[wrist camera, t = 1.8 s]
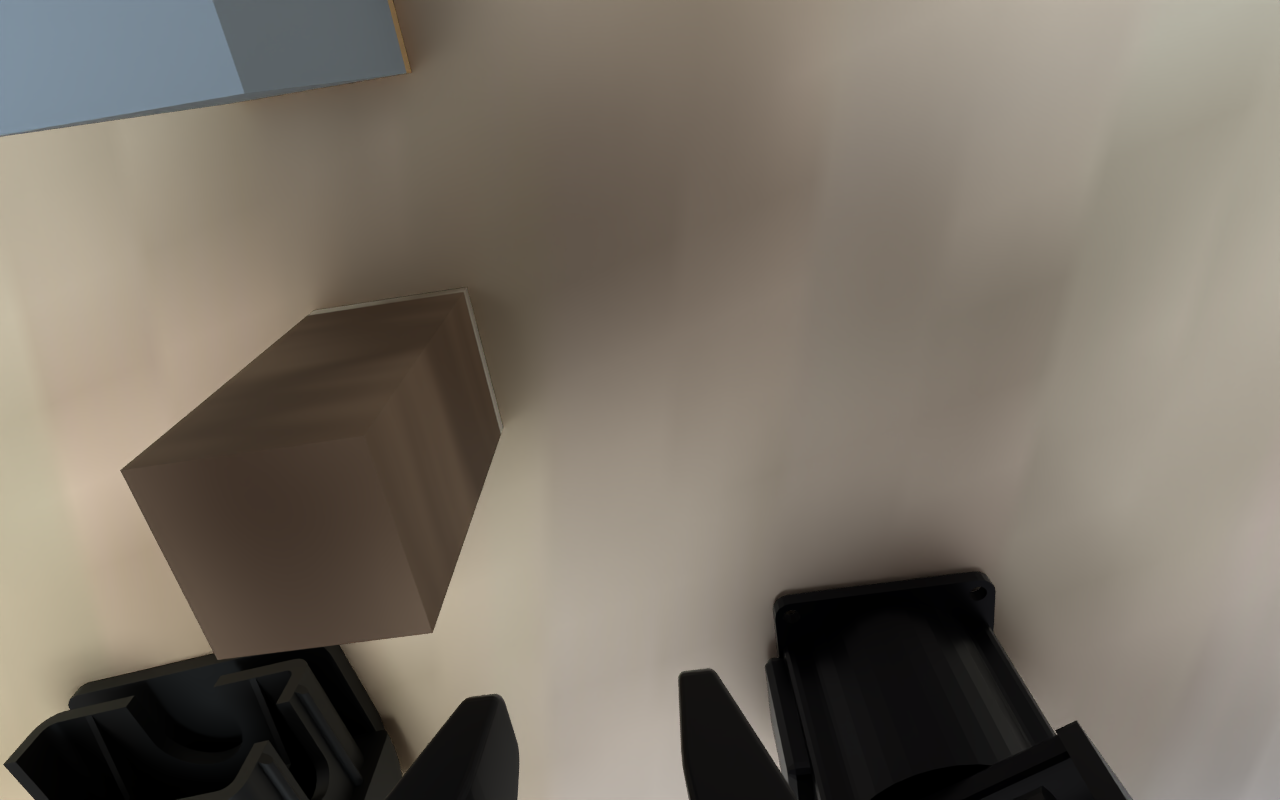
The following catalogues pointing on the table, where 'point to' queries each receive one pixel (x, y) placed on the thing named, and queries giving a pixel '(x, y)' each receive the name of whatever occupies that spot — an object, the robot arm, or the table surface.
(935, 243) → the table surface
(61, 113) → the slate block
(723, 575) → the table surface
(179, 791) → the end cap
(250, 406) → the walnut block
